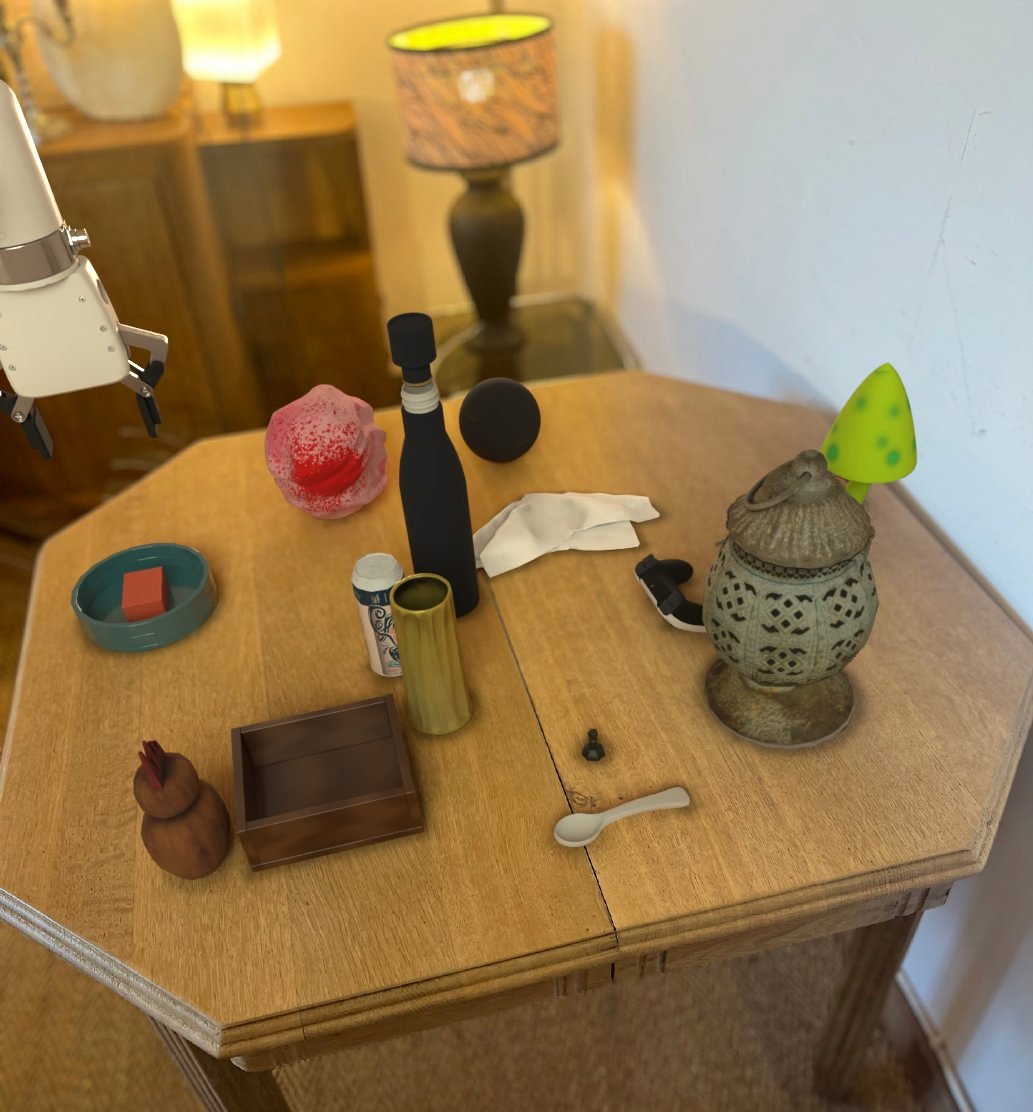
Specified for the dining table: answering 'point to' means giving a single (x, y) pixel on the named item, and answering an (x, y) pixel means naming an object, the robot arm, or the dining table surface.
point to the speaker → (499, 420)
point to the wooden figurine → (180, 814)
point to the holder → (322, 783)
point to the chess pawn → (593, 747)
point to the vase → (430, 654)
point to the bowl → (187, 611)
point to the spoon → (614, 816)
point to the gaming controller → (670, 591)
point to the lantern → (789, 607)
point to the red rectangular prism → (145, 594)
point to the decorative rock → (327, 453)
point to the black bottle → (431, 468)
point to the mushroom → (873, 434)
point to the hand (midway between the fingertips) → (101, 441)
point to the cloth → (558, 527)
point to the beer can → (378, 609)
